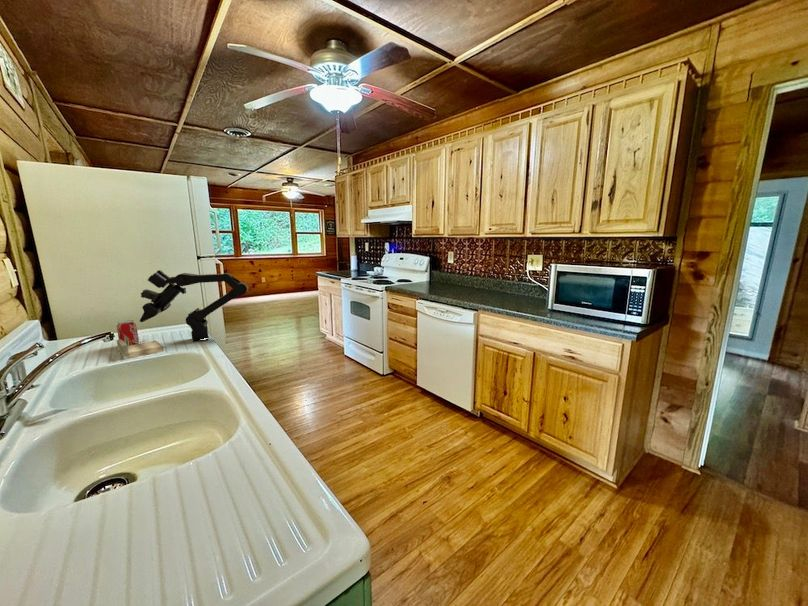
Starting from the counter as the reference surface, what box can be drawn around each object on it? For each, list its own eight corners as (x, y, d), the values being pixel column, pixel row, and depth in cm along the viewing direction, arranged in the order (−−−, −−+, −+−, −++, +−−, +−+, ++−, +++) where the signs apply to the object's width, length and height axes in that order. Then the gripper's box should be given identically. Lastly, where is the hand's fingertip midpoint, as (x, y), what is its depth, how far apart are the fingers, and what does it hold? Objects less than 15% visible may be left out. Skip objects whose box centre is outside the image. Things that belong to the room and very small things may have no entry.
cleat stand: (156, 345, 155) (154, 333, 153) (163, 351, 147) (161, 338, 146) (119, 353, 144) (116, 340, 143) (124, 359, 137) (122, 345, 136)
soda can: (131, 348, 150) (126, 323, 148) (116, 348, 150) (111, 323, 148) (143, 344, 157) (139, 319, 155) (129, 344, 157) (124, 319, 155)
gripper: (159, 281, 161) (136, 304, 159) (144, 286, 144) (118, 312, 142) (180, 295, 165) (157, 319, 164) (168, 302, 148) (142, 328, 146)
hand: (144, 319), depth 154 cm, fingers open, 9 cm apart
